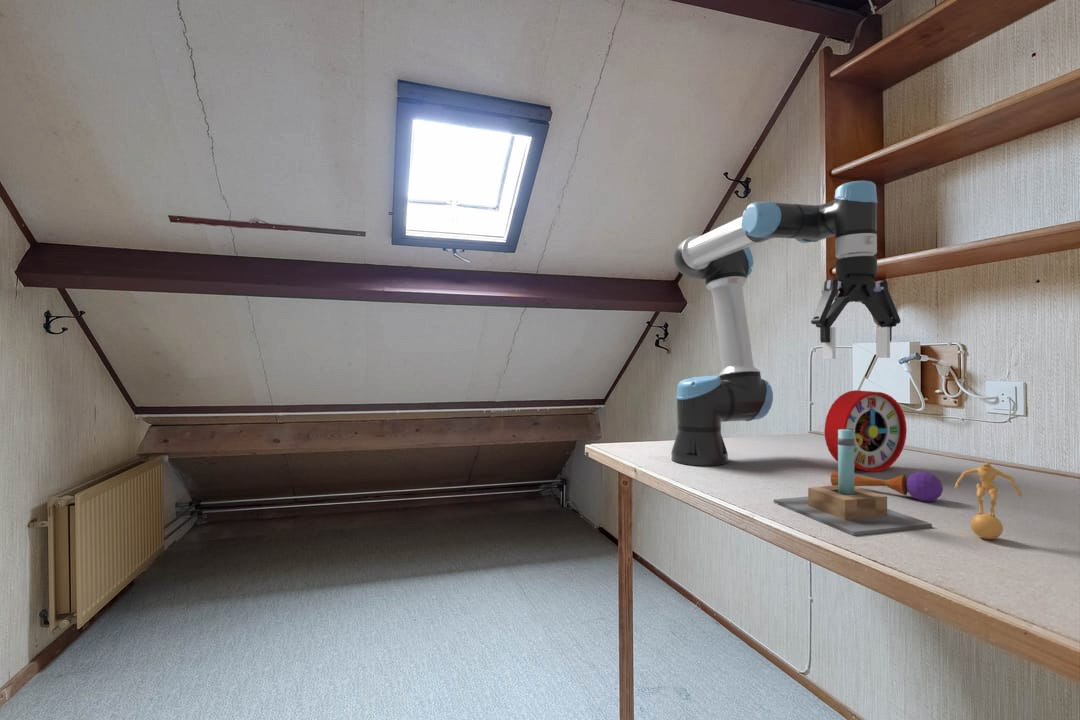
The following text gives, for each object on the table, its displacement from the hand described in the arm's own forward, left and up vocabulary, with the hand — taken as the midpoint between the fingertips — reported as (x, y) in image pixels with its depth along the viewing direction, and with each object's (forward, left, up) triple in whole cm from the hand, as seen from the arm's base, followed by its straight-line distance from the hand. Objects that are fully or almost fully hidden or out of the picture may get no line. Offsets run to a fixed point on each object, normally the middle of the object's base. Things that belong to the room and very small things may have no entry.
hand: (856, 358), depth 112 cm
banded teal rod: (+11, -13, -28) cm, 33 cm away
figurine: (+27, -1, -29) cm, 40 cm away
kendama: (+1, +6, -29) cm, 30 cm away
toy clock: (-18, +20, -29) cm, 39 cm away
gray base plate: (+11, -13, -29) cm, 33 cm away
